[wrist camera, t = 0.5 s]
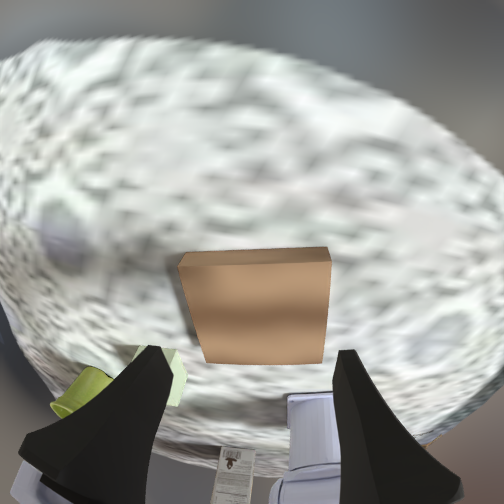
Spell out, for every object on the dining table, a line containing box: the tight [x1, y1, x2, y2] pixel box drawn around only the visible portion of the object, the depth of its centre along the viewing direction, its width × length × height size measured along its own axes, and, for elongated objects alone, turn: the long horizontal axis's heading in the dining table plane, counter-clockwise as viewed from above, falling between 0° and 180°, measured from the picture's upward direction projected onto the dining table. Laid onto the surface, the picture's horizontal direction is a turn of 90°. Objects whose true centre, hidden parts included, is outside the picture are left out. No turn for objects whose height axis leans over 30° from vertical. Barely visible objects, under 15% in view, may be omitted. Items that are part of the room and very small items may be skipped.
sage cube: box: [131, 346, 188, 407], centre depth 24 cm, size 4×4×4 cm
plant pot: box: [50, 367, 114, 419], centre depth 28 cm, size 9×9×9 cm
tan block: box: [177, 247, 332, 365], centre depth 20 cm, size 10×10×2 cm
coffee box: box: [210, 446, 256, 504], centre depth 33 cm, size 9×6×16 cm
